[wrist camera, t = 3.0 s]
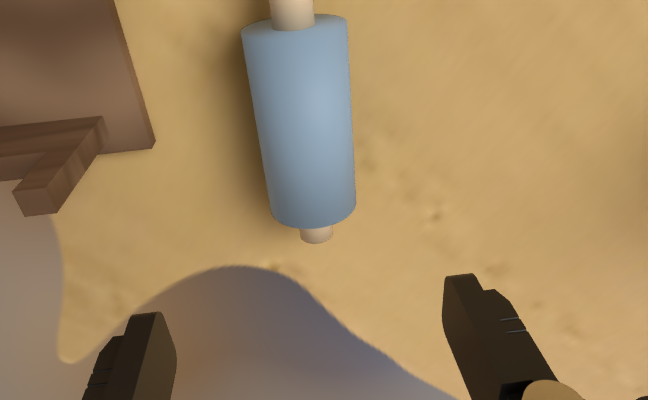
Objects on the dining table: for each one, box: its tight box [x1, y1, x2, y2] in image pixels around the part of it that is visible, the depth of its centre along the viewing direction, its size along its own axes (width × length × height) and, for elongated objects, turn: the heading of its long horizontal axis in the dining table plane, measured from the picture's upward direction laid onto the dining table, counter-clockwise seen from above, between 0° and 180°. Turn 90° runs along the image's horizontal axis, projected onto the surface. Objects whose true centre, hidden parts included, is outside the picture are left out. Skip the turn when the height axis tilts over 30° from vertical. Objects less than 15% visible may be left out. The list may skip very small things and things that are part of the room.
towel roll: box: [241, 0, 356, 244], centre depth 25 cm, size 14×5×5 cm, turn 5°
